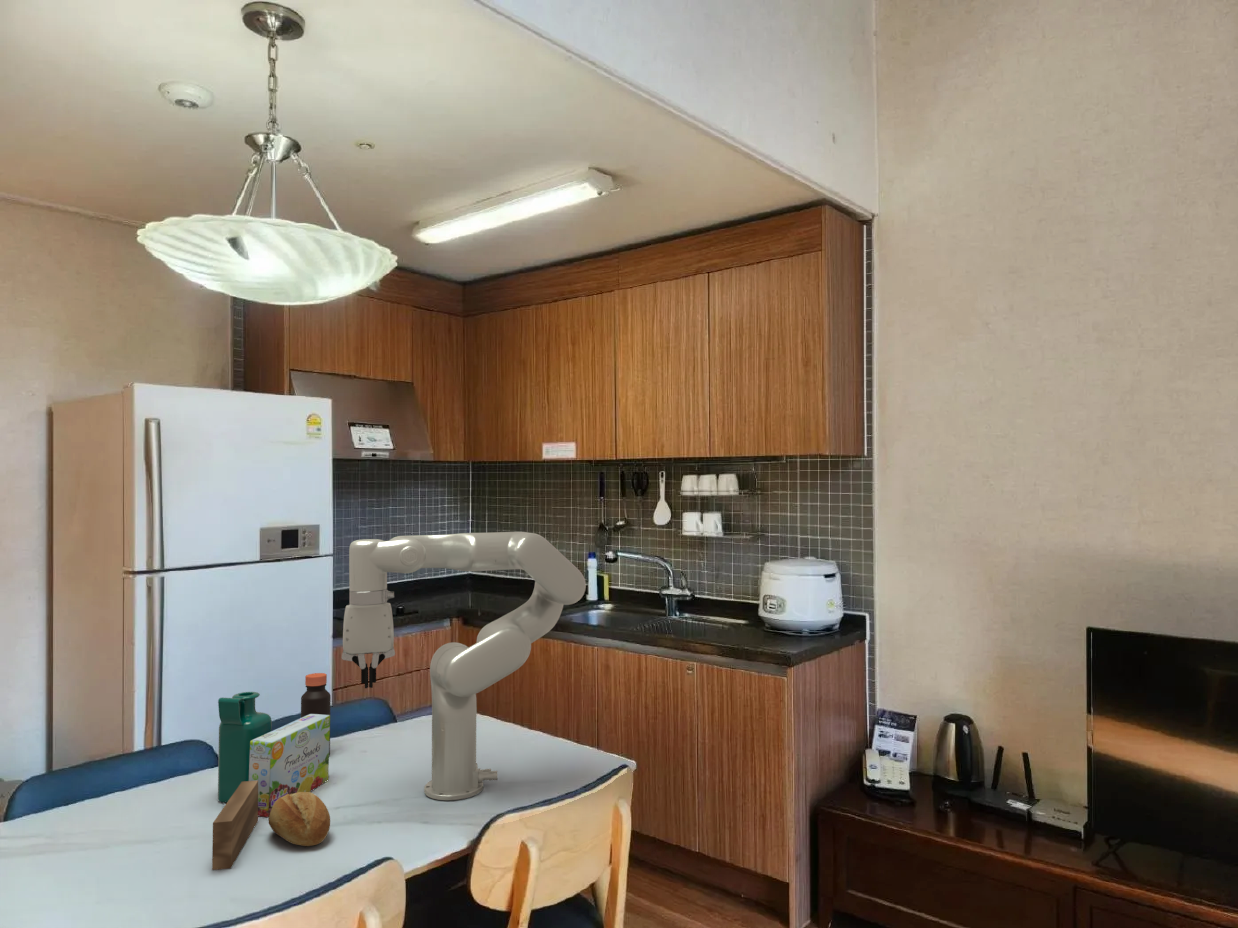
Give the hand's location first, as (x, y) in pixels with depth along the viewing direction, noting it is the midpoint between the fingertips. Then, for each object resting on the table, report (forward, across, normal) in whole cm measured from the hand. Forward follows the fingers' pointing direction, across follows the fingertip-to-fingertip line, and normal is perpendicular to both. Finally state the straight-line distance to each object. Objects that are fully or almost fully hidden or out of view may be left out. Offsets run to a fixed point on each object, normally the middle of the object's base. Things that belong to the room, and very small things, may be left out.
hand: (368, 686), depth 165 cm
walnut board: (+24, +23, +12) cm, 36 cm away
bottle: (+24, +13, -35) cm, 45 cm away
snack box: (+24, +16, -9) cm, 31 cm away
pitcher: (+24, +26, -12) cm, 37 cm away
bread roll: (+24, +13, +12) cm, 30 cm away
